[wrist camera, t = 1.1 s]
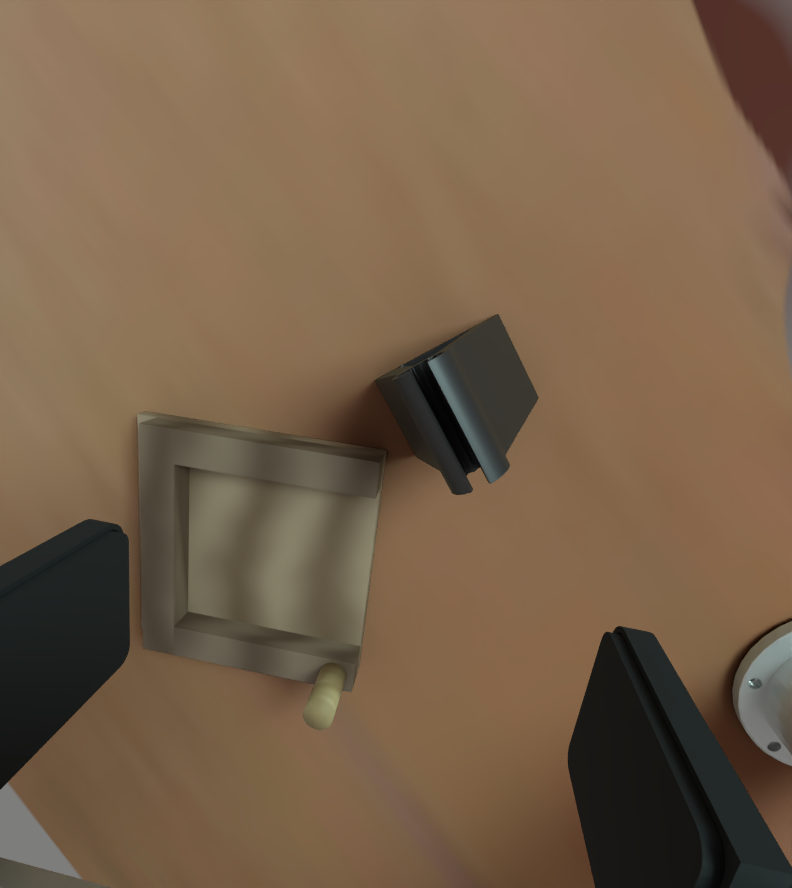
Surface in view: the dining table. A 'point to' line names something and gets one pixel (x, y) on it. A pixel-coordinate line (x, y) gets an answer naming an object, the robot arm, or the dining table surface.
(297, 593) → the board
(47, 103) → the dining table surface
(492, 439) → the phone stand
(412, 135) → the dining table surface
